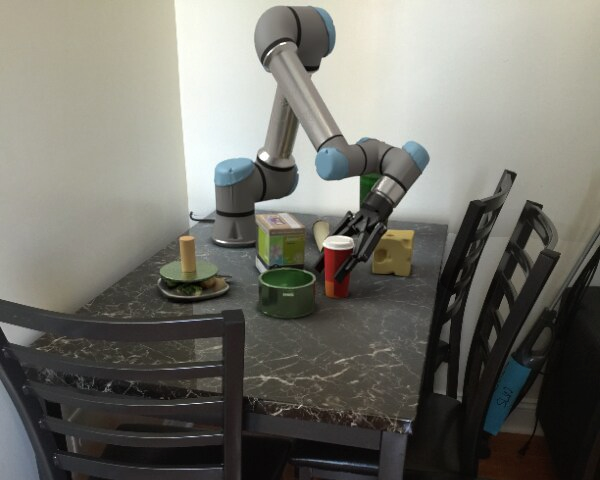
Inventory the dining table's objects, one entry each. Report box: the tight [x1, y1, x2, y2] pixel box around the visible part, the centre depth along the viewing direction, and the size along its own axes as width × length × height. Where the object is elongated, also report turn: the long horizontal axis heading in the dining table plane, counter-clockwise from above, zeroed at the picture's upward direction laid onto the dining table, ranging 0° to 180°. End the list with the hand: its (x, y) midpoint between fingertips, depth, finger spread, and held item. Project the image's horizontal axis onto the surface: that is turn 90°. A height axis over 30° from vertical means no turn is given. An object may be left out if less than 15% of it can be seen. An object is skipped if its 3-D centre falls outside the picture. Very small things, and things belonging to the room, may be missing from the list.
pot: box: [258, 267, 317, 320], centre depth 154 cm, size 13×19×8 cm
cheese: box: [372, 228, 415, 277], centre depth 178 cm, size 10×11×10 cm
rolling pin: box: [311, 220, 331, 254], centre depth 194 cm, size 32×6×5 cm, turn 4°
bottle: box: [358, 140, 389, 229], centre depth 200 cm, size 11×11×28 cm
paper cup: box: [323, 236, 356, 299], centre depth 160 cm, size 8×8×14 cm
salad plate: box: [156, 273, 233, 303], centre depth 164 cm, size 19×18×5 cm
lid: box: [159, 235, 219, 282], centre depth 160 cm, size 14×14×9 cm
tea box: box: [255, 212, 306, 274], centre depth 171 cm, size 15×10×15 cm
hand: (326, 275), depth 159 cm, fingers closed on paper cup, 8 cm apart
